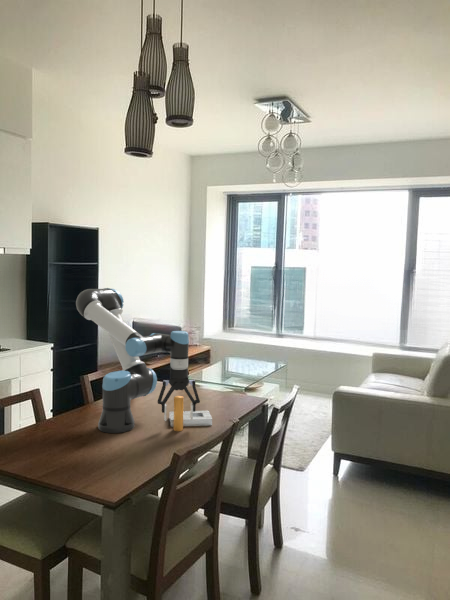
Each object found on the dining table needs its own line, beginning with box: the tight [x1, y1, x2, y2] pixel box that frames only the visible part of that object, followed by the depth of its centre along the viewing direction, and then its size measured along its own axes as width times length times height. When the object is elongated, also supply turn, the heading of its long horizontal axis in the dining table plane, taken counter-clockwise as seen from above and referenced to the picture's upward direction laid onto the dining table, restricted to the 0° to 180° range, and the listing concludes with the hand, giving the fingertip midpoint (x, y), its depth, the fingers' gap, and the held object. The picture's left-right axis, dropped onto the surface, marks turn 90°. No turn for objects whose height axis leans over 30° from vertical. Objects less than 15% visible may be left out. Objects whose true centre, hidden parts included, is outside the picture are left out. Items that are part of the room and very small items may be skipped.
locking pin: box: [173, 395, 185, 432], centre depth 202 cm, size 4×4×14 cm
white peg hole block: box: [168, 409, 213, 428], centre depth 213 cm, size 18×12×3 cm, turn 99°
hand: (178, 419), depth 202 cm, fingers open, 10 cm apart
